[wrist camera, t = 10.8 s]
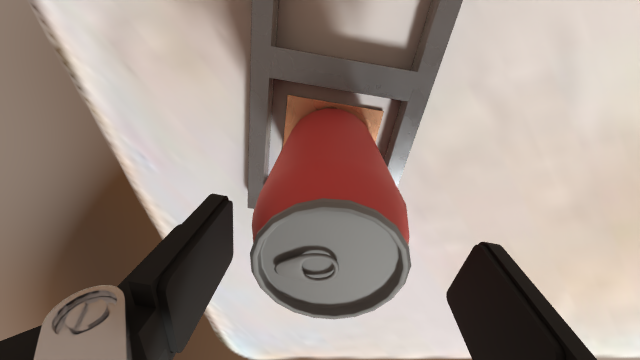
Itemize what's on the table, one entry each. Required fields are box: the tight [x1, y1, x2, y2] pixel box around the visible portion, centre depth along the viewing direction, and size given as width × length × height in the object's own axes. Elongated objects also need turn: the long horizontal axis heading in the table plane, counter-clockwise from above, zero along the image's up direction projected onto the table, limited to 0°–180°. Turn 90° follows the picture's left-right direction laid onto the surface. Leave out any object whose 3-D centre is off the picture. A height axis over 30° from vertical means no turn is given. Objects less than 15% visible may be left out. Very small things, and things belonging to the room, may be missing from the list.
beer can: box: [250, 108, 411, 319], centre depth 14 cm, size 7×7×12 cm
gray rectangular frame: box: [248, 0, 463, 209], centre depth 16 cm, size 12×23×2 cm, turn 171°
